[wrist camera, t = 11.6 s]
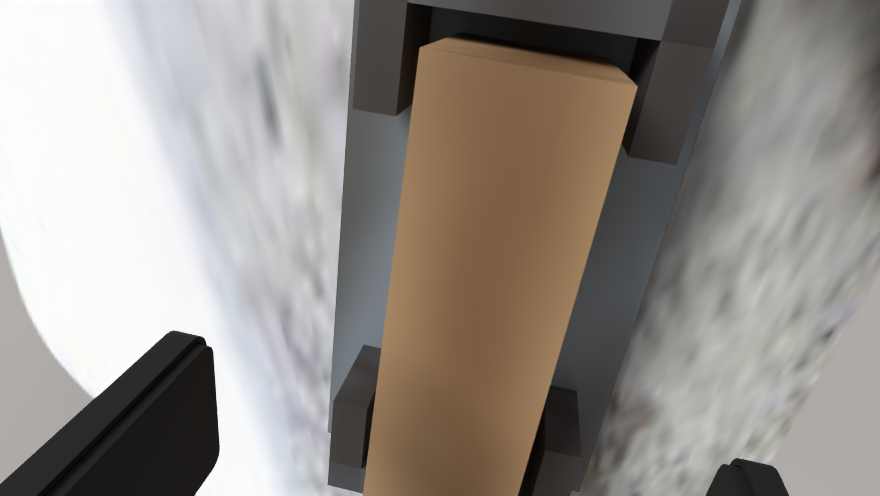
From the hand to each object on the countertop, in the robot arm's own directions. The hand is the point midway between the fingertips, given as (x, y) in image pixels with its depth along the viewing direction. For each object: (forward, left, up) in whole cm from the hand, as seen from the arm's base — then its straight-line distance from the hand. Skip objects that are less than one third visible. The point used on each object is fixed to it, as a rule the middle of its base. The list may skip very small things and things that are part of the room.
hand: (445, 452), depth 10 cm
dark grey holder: (+1, 0, -12) cm, 12 cm away
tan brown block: (+1, 0, -10) cm, 10 cm away
